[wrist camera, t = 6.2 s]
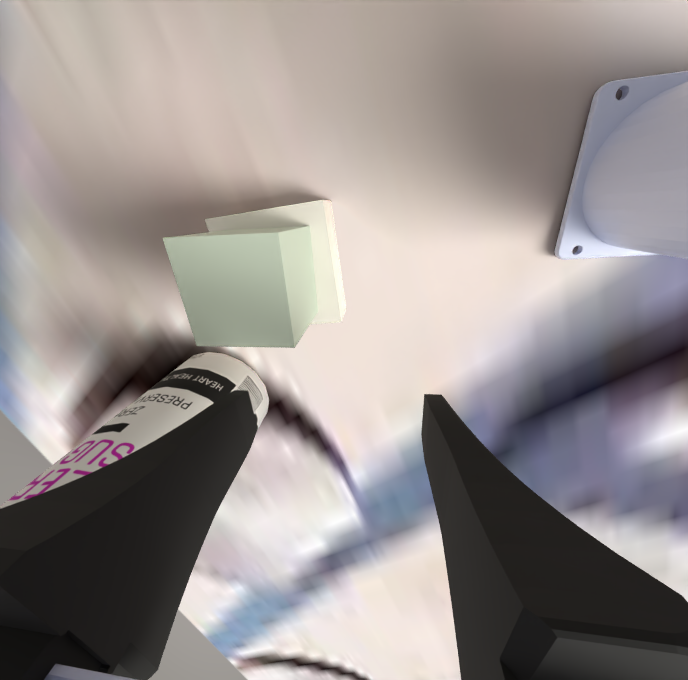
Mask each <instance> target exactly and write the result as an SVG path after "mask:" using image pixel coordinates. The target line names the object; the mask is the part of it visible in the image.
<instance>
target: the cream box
mask: <svg viewBox="0 0 688 680" xmlns="http://www.w3.org/2000/svg"><path fill="white" fill-rule="evenodd" d="M205 222H206V225H207V228H208V231H209V232H214V231H222V230H236V229H256V228H276V227H296V226H310V233H311V243H312V253H313V264H314V274H315V285H316V295H317V305H318V313H317V314H316V316H315V317H314V319H313V320H312V322H311V323H310V325H312V324H324V323H336V322H342V319H343V316H344V314H345V311H346V303H345V296H344V289H343V282H342V275H341V268H340V261H339V254H338V246H337V239H336V232H335V225H334V218H333V211H332V204H331V201H329V200H317V201H311V202H305V203H299V204H293V205H287V206H281V207H275V208H269V209H263V210H257V211H251V212H245V213H239V214H232V215H226V216H220V217H214V218H208V219H205Z"/></svg>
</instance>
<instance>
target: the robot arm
mask: <svg viewBox="0 0 688 680" xmlns="http://www.w3.org/2000/svg"><path fill="white" fill-rule="evenodd" d="M618 89H621V90H622V96H621V98H620V100H617V99H616V92H617V90H618ZM575 246H578V250H577V252H575V253H572V250H573V248H574V247H575ZM643 255H666V256H672V257H678V258H684V259H688V71H681V72H674V73H666V74H659V75H651V76H644V77H637V78H629V79H622V80H614V81H611V82H608V83H606V84H604V85H603V86H601V87H600V88H599V89H598V90H597V91H596V93H595V95H594V97H593V100H592V104H591V108H590V112H589V116H588V120H587V124H586V128H585V132H584V136H583V140H582V144H581V148H580V152H579V156H578V160H577V164H576V168H575V172H574V176H573V180H572V184H571V188H570V192H569V196H568V200H567V204H566V208H565V212H564V216H563V220H562V223H561V227H560V231H559V235H558V239H557V243H556V247H555V256H556V257H557V258H560V259H584V258H604V257H623V256H643ZM257 429H258V425H257V422H256V418H255V414H254V411H253V407H252V403H251V400H250V396H249V392H248V390H234V391H232V392H231V393H229V394H227V395H226V396H224V397H222V398H221V399H219V400H218V401H216V402H215V403H213V404H212V405H210V406H209V407H207V408H206V409H204V410H203V411H201V412H200V413H198V414H197V415H195V416H194V417H192V418H191V419H189V420H187V421H186V422H184V423H183V424H181V425H179V426H178V427H176V428H175V429H173V430H171V431H170V432H168V433H166V434H165V435H163V436H162V437H160V438H158V439H157V440H155V441H153V442H151V443H149V444H148V445H146V446H144V447H142V448H140V449H138V450H137V451H135V452H133V453H131V454H129V455H127V456H125V457H123V458H121V459H119V460H117V461H115V462H113V463H111V464H109V465H106V466H104V467H102V468H100V469H98V470H96V471H94V472H92V473H90V474H87V475H85V476H83V477H81V478H78V479H76V480H74V481H71V482H69V483H66V484H64V485H62V486H59V487H57V488H54V489H52V490H49V491H47V492H44V493H42V494H39V495H37V496H34V497H31V498H29V499H26V500H23V501H20V502H18V503H15V504H12V505H9V506H6V507H4V508H1V509H0V680H148V679H149V678H150V677H151V676H152V675H153V674H154V673H155V672H156V671H157V670H158V667H159V664H160V661H161V658H162V655H163V652H164V649H165V645H166V643H167V640H168V636H169V634H170V631H171V628H172V625H173V622H174V619H175V616H176V612H177V610H178V607H179V605H180V602H181V599H182V596H183V594H184V591H185V588H186V586H187V583H188V580H189V577H190V575H191V572H192V570H193V567H194V565H195V562H196V560H197V557H198V555H199V552H200V550H201V547H202V545H203V542H204V540H205V538H206V535H207V533H208V531H209V528H210V526H211V524H212V521H213V519H214V517H215V514H216V512H217V510H218V508H219V506H220V504H221V502H222V500H223V499H224V497H225V495H226V493H227V491H228V489H229V488H230V486H231V484H232V482H233V480H234V478H235V477H236V475H237V473H238V471H239V469H240V467H241V465H242V464H243V462H244V460H245V458H246V456H247V454H248V452H249V450H250V448H251V445H252V443H253V440H254V437H255V435H256V432H257ZM421 435H422V443H423V452H424V460H425V464H426V468H427V473H428V477H429V481H430V485H431V490H432V494H433V498H434V502H435V506H436V511H437V515H438V519H439V524H440V529H441V534H442V539H443V546H444V553H445V560H446V566H447V573H448V580H449V588H450V595H451V602H452V609H453V617H454V625H455V632H456V640H457V648H458V656H459V664H460V672H461V680H688V602H687V601H686V600H685V599H684V597H683V596H682V595H680V594H679V593H677V592H675V591H674V590H672V589H671V588H669V587H668V586H666V585H665V584H663V583H662V582H660V581H658V580H657V579H655V578H654V577H652V576H651V575H649V574H648V573H646V572H645V571H643V570H641V569H640V568H638V567H637V566H635V565H634V564H632V563H631V562H629V561H628V560H626V559H624V558H623V557H621V556H620V555H618V554H617V553H615V552H614V551H612V550H611V549H609V548H608V547H607V546H605V545H604V544H602V543H601V542H600V541H598V540H597V539H595V538H594V537H592V536H591V535H590V534H588V533H587V532H585V531H584V530H583V529H581V528H580V527H578V526H577V525H576V524H574V523H573V522H572V521H570V520H569V519H568V518H566V517H565V516H564V515H562V514H561V513H560V512H559V511H557V510H556V509H555V508H553V507H552V506H551V505H550V504H548V503H547V502H546V501H545V500H543V499H542V498H541V497H539V496H538V495H537V494H536V493H534V492H533V491H532V490H531V489H530V488H528V487H527V486H526V485H525V484H524V483H523V482H521V481H520V480H519V479H518V478H517V477H516V476H515V475H514V474H513V473H511V472H510V471H509V470H508V469H507V468H506V467H505V466H504V465H503V464H502V463H501V462H500V461H499V460H498V459H497V458H496V457H495V456H494V455H493V454H492V453H491V452H490V451H489V450H488V449H487V448H486V447H485V446H484V445H483V444H482V443H481V442H480V441H479V440H478V438H477V437H476V436H475V435H474V434H473V433H472V432H471V430H470V429H469V428H468V427H467V426H466V425H465V424H464V422H463V421H462V420H461V419H460V418H459V416H458V415H457V414H456V413H455V411H454V410H453V409H452V408H451V406H450V405H449V404H448V402H447V401H446V400H445V398H444V397H443V396H442V395H433V394H424V408H423V421H422V434H421Z"/></svg>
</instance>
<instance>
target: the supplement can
mask: <svg viewBox="0 0 688 680" xmlns="http://www.w3.org/2000/svg"><path fill="white" fill-rule="evenodd" d="M234 390H248V392H249V396H250V400H251V403H252V407H253V411H254V414H255V418H256V422H257V425H258V428H259V426H260V424H261V422H262V421H263V419H264V417H265V415H266V413H267V410H268V403H269V398H268V394H267V391H266V387H265V385H264V384H263V382H262V381H261V379H260V378H259V376H258V375H257V374H256V372H255V371H254V370H252V369H251V368H250V367H249V366H247V365H246V364H245V363H244V362H242V361H240V360H238V359H235V358H233V357H231V356H228V355H226V354H221V353H213V352H206V353H201V354H197V355H193V356H192V357H191V358H189V359H188V360H187V361H185V362H184V363H183V364H181V365H180V366H179V367H178V368H176V369H175V370H174V371H172V372H171V373H170V374H169V375H167V376H166V377H165V378H163V379H162V380H161V381H160V382H158V383H157V384H156V385H155V386H153V387H152V388H151V389H149V390H148V391H147V392H146V393H144V394H143V395H142V396H140V397H139V398H138V399H137V400H135V401H134V402H133V403H132V404H130V405H129V406H128V407H126V408H125V409H124V410H123V411H121V412H120V413H119V414H117V415H116V416H115V417H114V418H112V419H111V420H110V421H108V422H107V423H106V424H105V425H103V426H102V427H101V428H100V429H98V430H97V431H96V432H94V433H93V434H92V435H91V436H89V437H88V438H87V439H85V440H84V441H83V442H82V443H80V444H79V445H78V446H77V447H75V448H74V449H73V450H71V451H70V452H69V453H68V454H66V455H65V456H64V457H62V458H61V459H60V460H59V461H57V462H56V463H55V464H54V465H52V466H51V467H50V468H48V469H47V470H46V471H45V472H43V473H42V474H41V475H39V476H38V477H37V478H36V479H34V480H33V481H32V482H31V483H29V484H28V485H27V486H25V487H24V488H23V489H22V490H20V491H19V492H18V493H17V494H15V495H14V496H13V497H11V498H10V499H9V500H7V501H6V502H5V503H4V504H2V505H1V506H0V509H1V508H4V507H6V506H9V505H12V504H15V503H18V502H20V501H23V500H26V499H29V498H31V497H34V496H37V495H39V494H42V493H44V492H47V491H49V490H52V489H54V488H57V487H59V486H62V485H64V484H66V483H69V482H71V481H74V480H76V479H78V478H81V477H83V476H85V475H87V474H90V473H92V472H94V471H96V470H98V469H100V468H102V467H104V466H106V465H109V464H111V463H113V462H115V461H117V460H119V459H121V458H123V457H125V456H127V455H129V454H131V453H133V452H135V451H137V450H138V449H140V448H142V447H144V446H146V445H148V444H149V443H151V442H153V441H155V440H157V439H158V438H160V437H162V436H163V435H165V434H166V433H168V432H170V431H171V430H173V429H175V428H176V427H178V426H179V425H181V424H183V423H184V422H186V421H187V420H189V419H191V418H192V417H194V416H195V415H197V414H198V413H200V412H201V411H203V410H204V409H206V408H207V407H209V406H210V405H212V404H213V403H215V402H216V401H218V400H219V399H221V398H222V397H224V396H226V395H227V394H229V393H231V392H232V391H234Z"/></svg>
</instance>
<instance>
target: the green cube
mask: <svg viewBox="0 0 688 680" xmlns="http://www.w3.org/2000/svg"><path fill="white" fill-rule="evenodd" d="M163 241H164V244H165V248H166V251H167V254H168V257H169V260H170V263H171V266H172V270H173V273H174V276H175V279H176V282H177V285H178V288H179V292H180V295H181V298H182V301H183V304H184V307H185V311H186V314H187V317H188V320H189V323H190V326H191V329H192V333H193V336H194V339H195V342H196V345H197V346H225V347H288V348H295V346H296V345H297V343H298V342H299V340H300V339H301V337H302V336H303V334H304V333H305V331H306V329H307V328H308V326H309V325H310V323H311V322H312V320H313V319H314V317H315V316H316V314H317V313H318V305H317V295H316V285H315V274H314V264H313V253H312V243H311V233H310V226H296V227H276V228H256V229H236V230H222V231H214V232H206V233H198V234H190V235H182V236H174V237H166V238H163Z"/></svg>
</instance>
